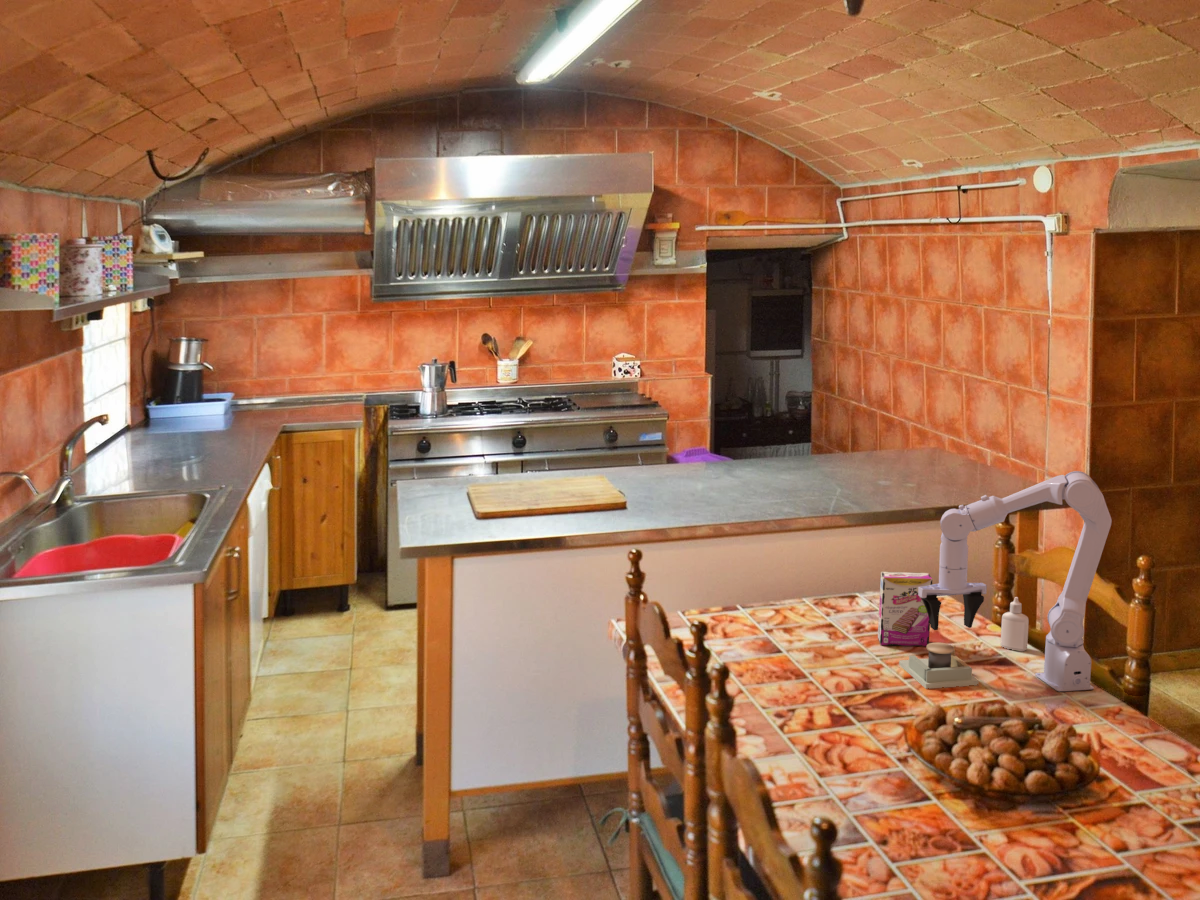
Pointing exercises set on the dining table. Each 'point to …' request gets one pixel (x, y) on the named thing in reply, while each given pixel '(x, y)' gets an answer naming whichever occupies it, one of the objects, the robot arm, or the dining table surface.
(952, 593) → the robot arm
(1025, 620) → the eye dropper bottle
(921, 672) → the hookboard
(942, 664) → the spool
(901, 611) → the candy bar box
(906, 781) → the dining table surface
